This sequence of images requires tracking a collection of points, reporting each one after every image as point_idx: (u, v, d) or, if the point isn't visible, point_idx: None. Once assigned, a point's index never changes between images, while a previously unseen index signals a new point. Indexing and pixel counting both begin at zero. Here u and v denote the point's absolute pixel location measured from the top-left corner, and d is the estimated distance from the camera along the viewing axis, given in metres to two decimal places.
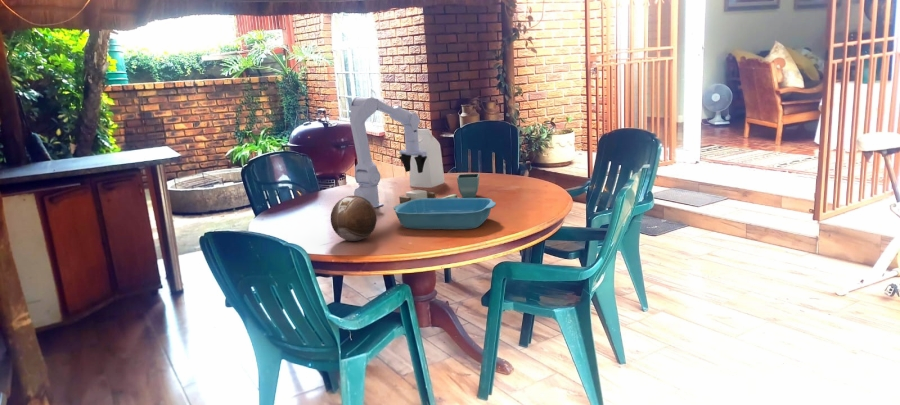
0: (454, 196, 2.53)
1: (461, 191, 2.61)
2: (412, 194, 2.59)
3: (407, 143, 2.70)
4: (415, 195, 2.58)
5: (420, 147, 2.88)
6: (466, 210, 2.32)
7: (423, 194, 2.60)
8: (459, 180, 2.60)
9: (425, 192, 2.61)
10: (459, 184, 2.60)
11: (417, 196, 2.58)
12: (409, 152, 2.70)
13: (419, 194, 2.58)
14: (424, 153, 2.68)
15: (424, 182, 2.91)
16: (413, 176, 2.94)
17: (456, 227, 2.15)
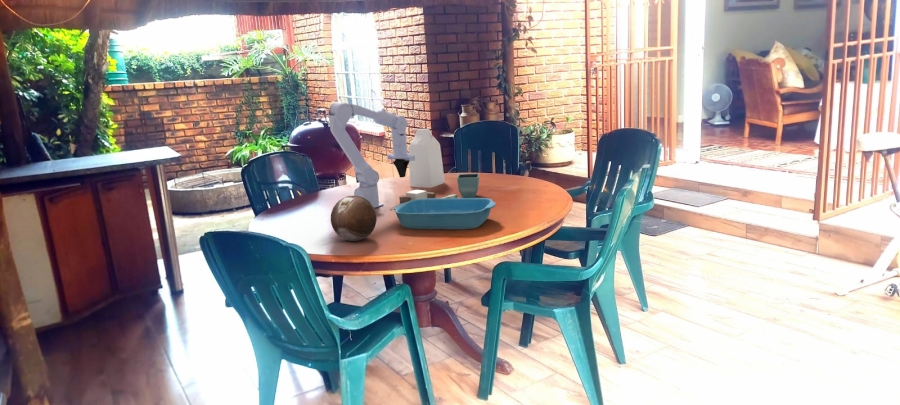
0: (454, 196, 2.53)
1: (461, 191, 2.61)
2: (412, 194, 2.59)
3: (395, 147, 2.60)
4: (415, 195, 2.58)
5: (420, 147, 2.89)
6: (466, 210, 2.32)
7: (423, 194, 2.60)
8: (459, 180, 2.60)
9: (425, 192, 2.61)
10: (459, 184, 2.60)
11: (417, 196, 2.58)
12: (397, 156, 2.60)
13: (419, 194, 2.58)
14: (412, 157, 2.58)
15: (424, 182, 2.91)
16: (413, 176, 2.94)
17: (456, 227, 2.15)
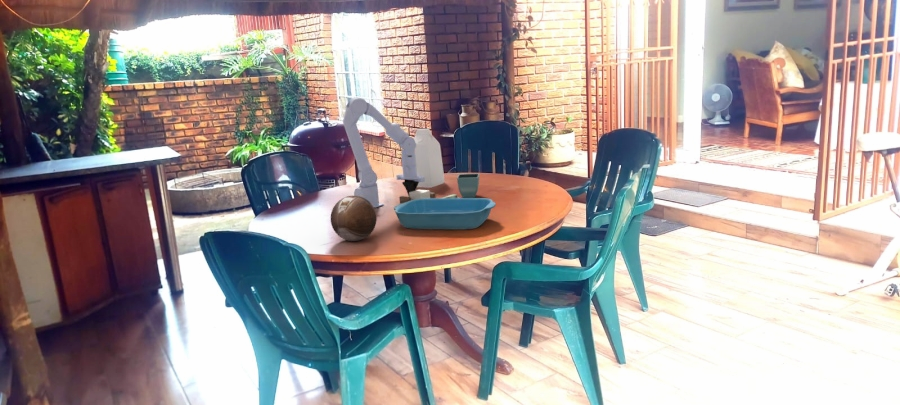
0: (454, 196, 2.53)
1: (461, 191, 2.61)
2: (415, 194, 2.58)
3: (404, 168, 2.59)
4: (419, 195, 2.57)
5: (420, 147, 2.89)
6: (466, 210, 2.32)
7: (426, 194, 2.59)
8: (459, 180, 2.60)
9: (428, 192, 2.60)
10: (459, 184, 2.60)
11: (421, 196, 2.57)
12: (406, 177, 2.59)
13: (422, 194, 2.58)
14: (422, 179, 2.57)
15: (424, 182, 2.91)
16: None
17: (456, 227, 2.15)
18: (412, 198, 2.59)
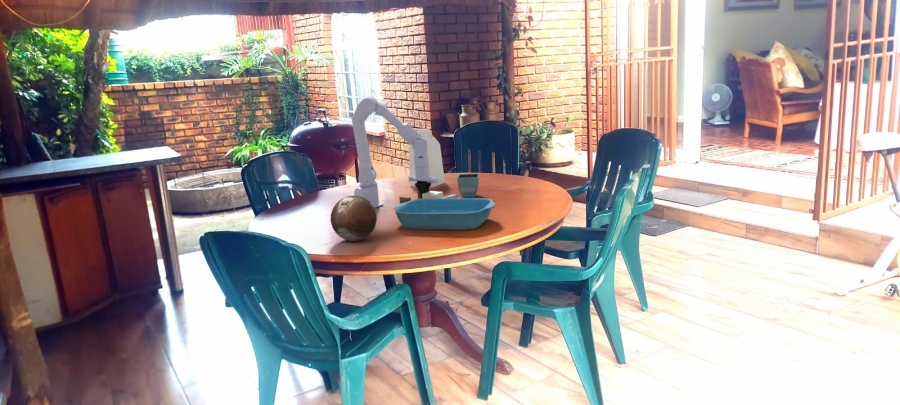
0: (454, 196, 2.53)
1: (461, 191, 2.61)
2: (429, 195, 2.53)
3: (417, 169, 2.54)
4: (432, 196, 2.52)
5: None
6: (467, 210, 2.31)
7: (440, 195, 2.55)
8: (459, 180, 2.60)
9: (441, 193, 2.56)
10: (459, 184, 2.60)
11: None
12: (419, 179, 2.54)
13: (436, 195, 2.53)
14: (435, 180, 2.52)
15: None
16: None
17: (455, 227, 2.14)
18: None
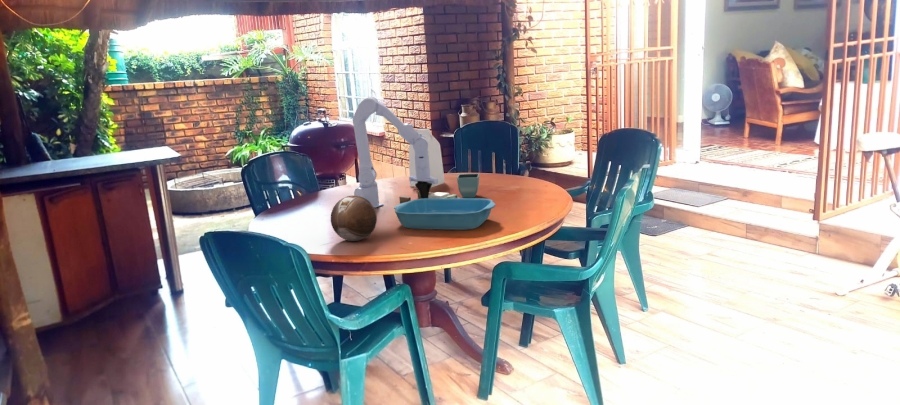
0: (454, 196, 2.53)
1: (461, 191, 2.61)
2: (435, 197, 2.51)
3: (417, 170, 2.54)
4: (439, 197, 2.50)
5: None
6: (467, 210, 2.31)
7: None
8: (459, 180, 2.60)
9: (448, 194, 2.54)
10: (459, 184, 2.60)
11: None
12: (420, 179, 2.54)
13: (443, 196, 2.51)
14: (436, 180, 2.52)
15: None
16: None
17: (454, 227, 2.14)
18: None
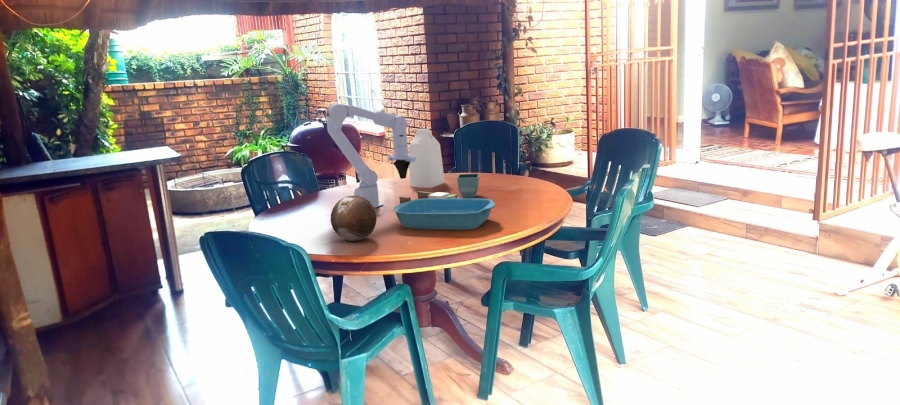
0: (454, 196, 2.53)
1: (461, 191, 2.61)
2: (435, 197, 2.51)
3: (395, 148, 2.57)
4: None
5: (420, 147, 2.88)
6: (467, 210, 2.31)
7: None
8: (459, 180, 2.60)
9: (448, 194, 2.54)
10: (459, 184, 2.60)
11: None
12: (398, 157, 2.57)
13: (442, 196, 2.51)
14: (413, 159, 2.55)
15: (424, 182, 2.91)
16: (413, 176, 2.94)
17: (454, 228, 2.14)
18: None
